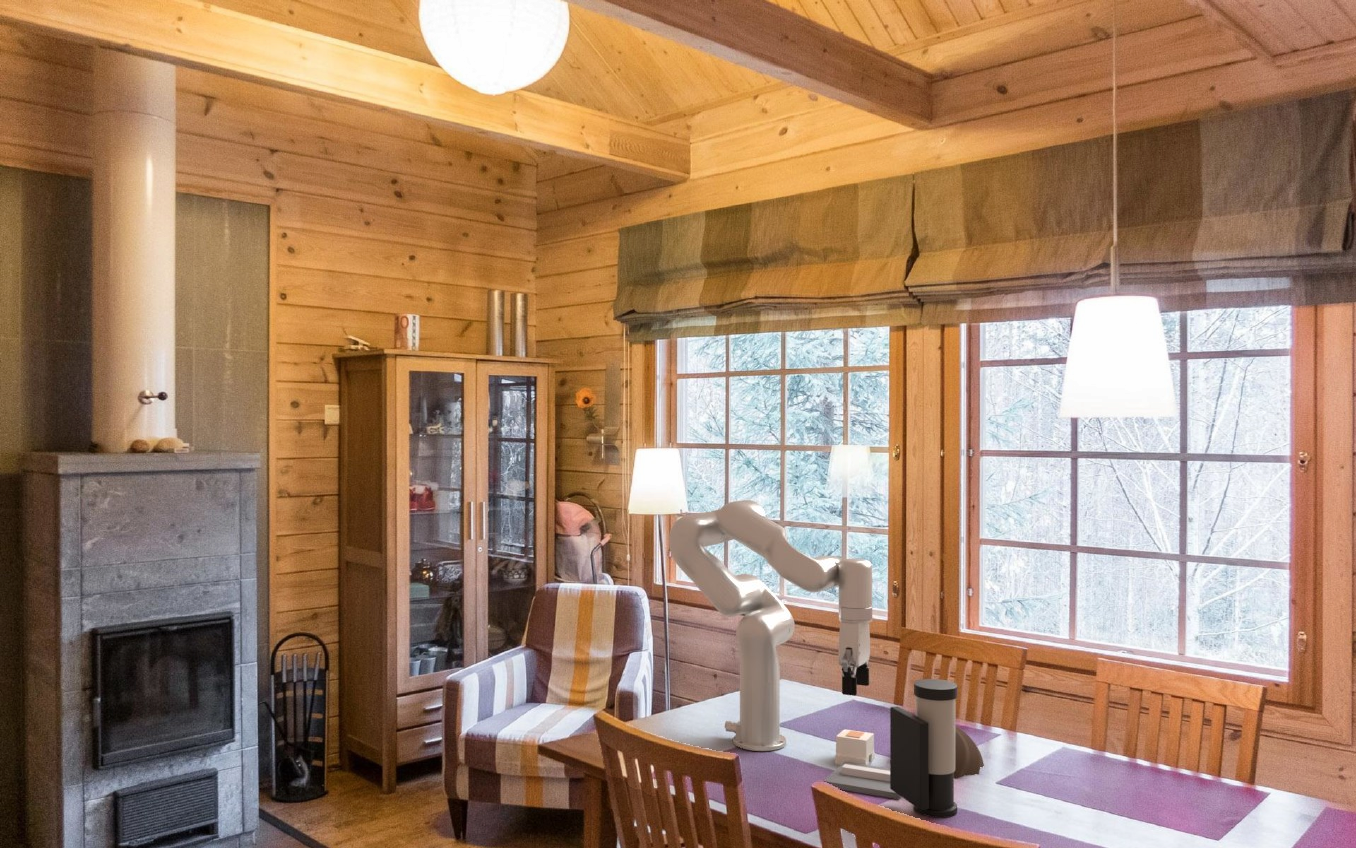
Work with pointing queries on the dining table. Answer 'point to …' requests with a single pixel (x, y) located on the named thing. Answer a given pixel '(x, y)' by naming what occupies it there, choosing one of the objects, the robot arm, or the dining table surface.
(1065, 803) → the dining table surface
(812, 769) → the dining table surface
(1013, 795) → the dining table surface
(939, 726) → the light fixture
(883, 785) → the rail board
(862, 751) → the block
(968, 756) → the decorative dome
